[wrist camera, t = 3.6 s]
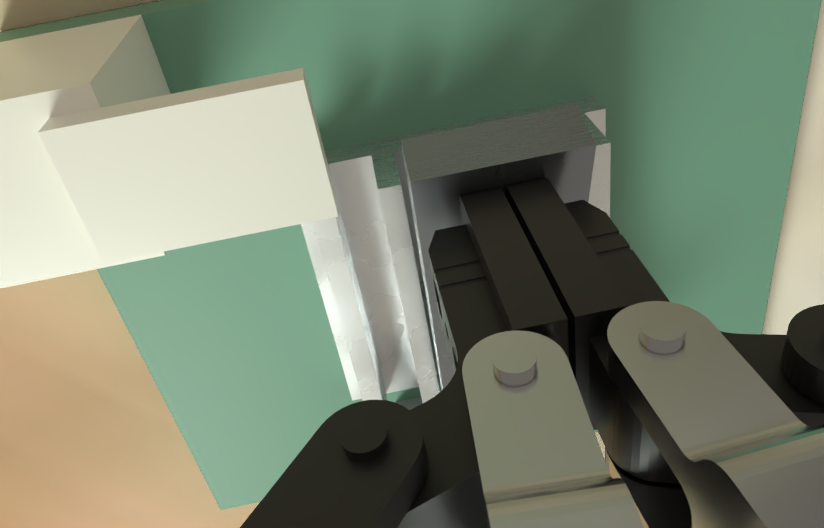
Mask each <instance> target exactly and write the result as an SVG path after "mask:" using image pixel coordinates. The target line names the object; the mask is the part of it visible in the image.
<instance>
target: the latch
mask: <svg viewBox="0 0 824 528" xmlns="http://www.w3.org/2000/svg"><path fill="white" fill-rule="evenodd" d="M333 217H338V208H337V199H336V195H335V191H334V187H333V183H332V179H331V175H330V171H329V167H328V163H327V159H326V155H325V151H324V147H323V143H322V139H321V135H320V131H319V127H318V123H317V119H316V115H315V111H314V107H313V103H312V99H311V95H310V91H309V87H308V83H307V79H306V75H305V71H304V68H300V69H295V70H290V71H285V72H280V73H274V74H269V75H264V76H259V77H254V78H249V79H244V80H239V81H234V82H229V83H224V84H219V85H214V86H209V87H203V88H198V89H193V90H188V91H183V92H178V93H173V94H171V93H170V91H169V88H168V85H167V83H166V80H165V77H164V75H163V72H162V69H161V67H160V64H159V61H158V59H157V56H156V53H155V50H154V48H153V45H152V42H151V40H150V37H149V34H148V32H147V29H146V26H145V24H144V21H143V18H142V16H141V15H136V16H131V17H126V18H121V19H116V20H111V21H106V22H101V23H95V24H90V25H85V26H80V27H75V28H70V29H65V30H60V31H55V32H49V33H44V34H39V35H34V36H29V37H24V38H19V39H14V40H8V41H3V42H0V288H5V287H10V286H15V285H20V284H25V283H30V282H35V281H40V280H45V279H50V278H55V277H60V276H64V275H69V274H74V273H79V272H84V271H89V270H94V269H99V268H104V267H109V266H114V265H119V264H124V263H129V262H134V261H139V260H144V259H149V258H154V257H159V256H164V255H165V254H166V251H169V250H174V249H179V248H184V247H189V246H194V245H198V244H203V243H208V242H213V241H218V240H223V239H228V238H233V237H238V236H243V235H248V234H253V233H258V232H263V231H268V230H273V229H278V228H283V227H288V226H293V225H298V224H303V223H308V222H313V221H318V220H323V219H328V218H333Z"/></svg>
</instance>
